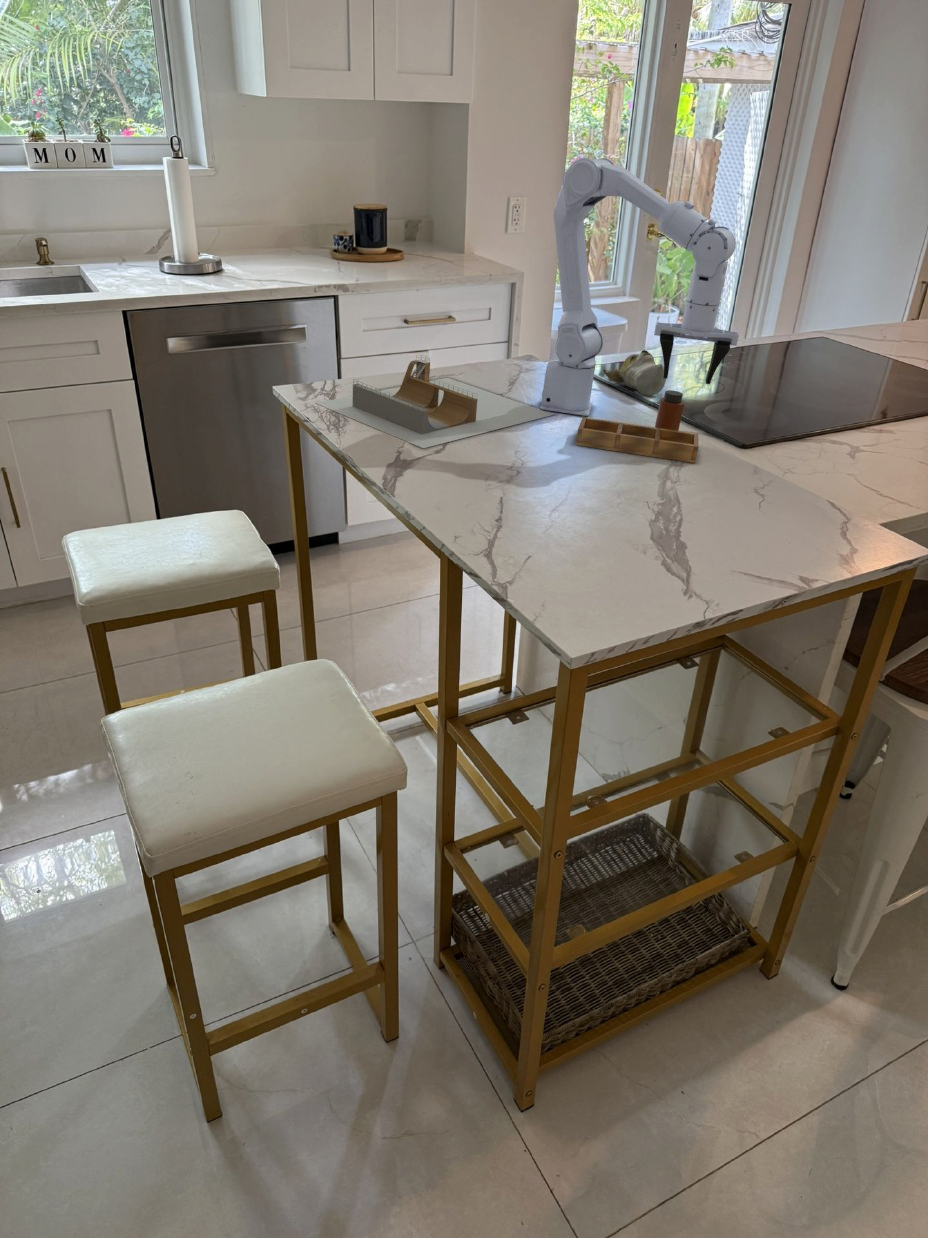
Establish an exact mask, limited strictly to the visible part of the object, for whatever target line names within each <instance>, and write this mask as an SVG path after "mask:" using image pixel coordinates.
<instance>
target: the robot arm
mask: <svg viewBox="0 0 928 1238" xmlns="http://www.w3.org/2000/svg"><path fill="white" fill-rule="evenodd" d="M561 184H562V185H561V186H560V190H559V193H558V195H557V199H556V203H555V204H554V208H553V222H554V223H553V224H554V233H555V244H556V255H557V264H558V267H557V268H558V275H559V286H560V297H561V306H562V315H561V317H560V319H559V322H558V324H557V338H556V341H555V347H554V350H555V355H556V357H557V358H558V359H557V360H551V359H550V360H548V361H547V363H546V368H545V373H544V380H543V388H542V392H541V403H540V404H541V405H540V410H543V411H549V412H556V413H563V414H570V415H577V416H582V417H589V416H590V413H591V410H592V408H593V403H592V402H591V396H592V390H593V382H594V379H595V378H594V376H595V371H596V366H597V365H596V364H597V362H596V357H597V355H599V354H600V353H601V351H602V349H603V348H604V336H603V333H602V331H601V329H600V327H599V324H598V317H597V315H596V314H595V313H594V311H593V309H592V302H591V290H590V289H591V288H590V279H589V266H588V256H587V244H586V232H585V218H587V216H588V214H589V213H590V212H591V211H592V210H593V208H594V207H595V206H596V205H597V204H598V203H600V202H601V201H602V200H604V199H605V198H606V197H620V198H622V199H624V200H625V201H627V202H629V203H630V204H632V205H634V206H635V207H637V208H638V209H639V210H641V211H642V212H644V213H646V214H648V215H649V216H650V217H653V218H654V219H655V220H657V222H658V226H659V230H660V232H661V233H662V234H663V235H665V236H666V237H667V238H669V239H670V240H672V241H673V242H674V243H676V244H677V245H678V246H680V247H682V248H683V249H685V250H686V251H687V252H689V253H691V254H692V257H693V259H694V264H693V269H692V273H691V276H690V282H689V286H688V290H687V296H686V300H685V306H684V310H683V315H682V320H681V323H671V322H670V323H669V322H657V321H656V322H655V328H654V333H653V334H654V336H657V337H659V344H660V347H661V352H662V353H661V354H662V359H663V367H664V375H663V378H666V380H667V379H668V377H669V371H670V362H671V357H672V352H673V348H674V344H675V343H674V341H675V338H679V339H685V340H686V339H687V340H696V341H702V342H710V343H713V347H712V353H711V358H710V363H709V367H708V369H707V373H706V377H705V384H706V385H711V383H712V379H713V377H714V375H715V373H716V371H717V369H718V368H719V366H720V365H721V363H722V361H723V360H724V358H725V357H726V356H727V355H728V353H730V350H731V346H735V347H736V346H738V343H739V342H738V341H739V337H740V334H739V332H737V331H730V330H726V329H721V328H720V329H719V328H715V326H716V322H717V321H716V320H717V316H718V313H719V308H720V305H721V300H722V299H721V298H722V293H723V290H724V286H725V281H726V275H727V270H728V265H729V261H728V260H730V258H731V257H732V256H733V255H734V253H735V251H736V245H737V244H736V237H735V236H734V234H733V232H731V231H730V229H729V228H728V227H727V226H723V225H722V226H719V225H718V226H716V224H717V221H716V220H715V218H709V219H708V218H707V217H705V216H704V215H702V214H701V213H699V212H698V211H697V210H695V209H694V207H695V204H694V203H693V202H691V201H690V200H689V201H686V202H684V201H682V200H677V201H674V202H670V201H668V200H667V199H666V198H665V197H664V196H662V195H661V194H659V193H658V192H656V191H655V190H654V189H653V188H651V187H650V186H649V185H647V184H646V183H645V182H643V181H642V180H641V179H640V178H638V177H637V176H636V175H635V174H633V173H632V172H631V171H629V170H628V169H627V168H625V167H624V166H622V165H619V164H616V163H615V162H613V161H612V160H611V159H609V158H605V157H604V158H603V157H600V158H589V157H582V158H578V159H576V160H575V161H574V162H572V163H571V165H570V166H569V167H568V168H567V170H566V171H565V172H564V173H563V174H562V176H561Z"/></svg>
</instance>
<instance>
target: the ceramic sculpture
mask: <svg viewBox="0 0 928 1238" xmlns="http://www.w3.org/2000/svg"><path fill="white" fill-rule="evenodd" d="M602 371H603V373H604V375H605V377H607V378H608V379H609V380H610V381H612V382H614V383H621V384H624V385H625V386H626V387H628V388H629V389H630V388H631V389H633V390H637V391H638V393H639V394H640V395H643V396H646V397H651V396H654V395H657V394H659V393H661V391H662V390H663V389H664V387H665V384H666V382H667V379H666V378H663V375H664V365H663V364H662V363H658V364H657V363H656V362H655V357H654V355H653V354H651V353H650V352H649V351H648V350H646V349H645V350H644V349H643V350H642V351H641V352H640V353H634V354H633V353H632V354H630V355H628V356H627V357H626V358H625V360H624V361H623V363H622V366H621V367H620V369H618V368H615V369H611V370H609V369H603V370H602Z"/></svg>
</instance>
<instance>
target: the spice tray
mask: <svg viewBox="0 0 928 1238" xmlns="http://www.w3.org/2000/svg"><path fill="white" fill-rule="evenodd" d="M699 438H700V437H699V433H696V432H688V431H681V430H679V431H675V430H669V429H662V428H655V426H647V425H641V424H634V423H628V422H627V423H626V422H619V421H614V420H607V419H600V418H594V417H588V416H582V417H581V420H580V423H579V426H578V428H577V433H576V439H575V446H579V447H586V448H587V447H588V448H592V449H599V450H606V451H613V452H618V453H625V454H632V455H638V456H639V455H640V456H646V457H652V458H657V459H664V460H665V459H666V460H672V461H677V462H685V463H691V464H696V461H697V458H698V457H697V456H698V452H699V447H700V446H699V445H700V443H699Z"/></svg>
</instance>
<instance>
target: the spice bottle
mask: <svg viewBox="0 0 928 1238" xmlns="http://www.w3.org/2000/svg"><path fill="white" fill-rule="evenodd" d="M683 396H684V394H683V392H681V391H678V390H674V389H673V390H671V389H668V390H665V391H664V396H663V397H661V398H660V399H659V405H658V409H657V415H656V419H655V424H654V427H655V428H662V429H669V430H675V431H680V424H681V421H682V417H683V416H682V415H683V411H684V407H685V401H683Z"/></svg>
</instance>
